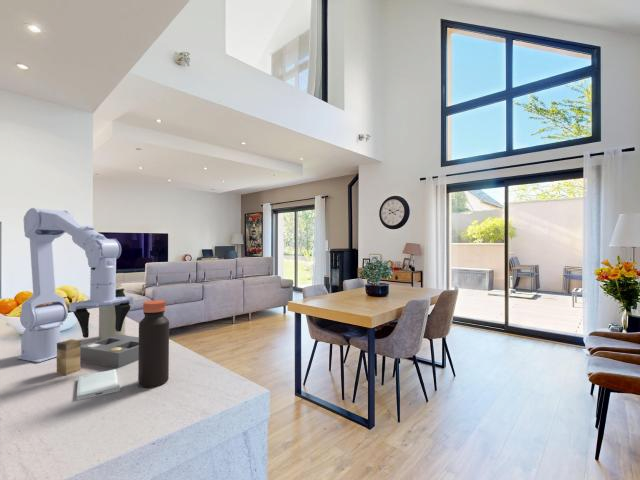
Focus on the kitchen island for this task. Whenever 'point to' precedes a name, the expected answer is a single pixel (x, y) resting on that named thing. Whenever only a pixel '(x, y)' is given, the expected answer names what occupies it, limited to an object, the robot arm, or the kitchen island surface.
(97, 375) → the hard drive
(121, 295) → the travel mug
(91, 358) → the socket block
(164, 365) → the bottle
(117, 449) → the kitchen island surface
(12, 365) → the kitchen island surface
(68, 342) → the plug
